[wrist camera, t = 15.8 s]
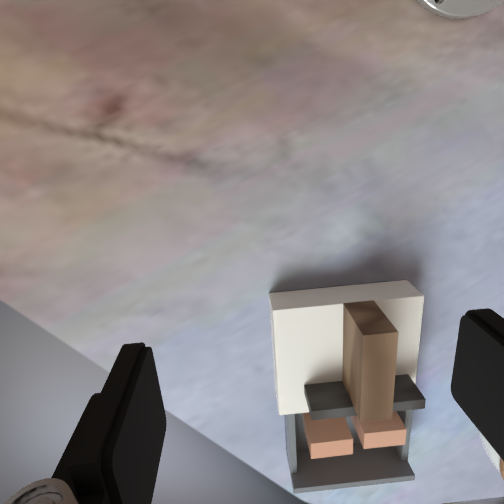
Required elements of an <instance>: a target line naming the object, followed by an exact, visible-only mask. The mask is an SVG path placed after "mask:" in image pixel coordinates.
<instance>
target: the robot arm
mask: <svg viewBox="0 0 504 504" xmlns="http://www.w3.org/2000/svg"><path fill="white" fill-rule="evenodd" d="M417 1H418V2H419V3H420V4H421V5H422V6H424V7H425V8H426V9H427V10H429V11H431V12H432V13H434V14H436V15H438V16H442V17H446V18H449V19H465V18H471V17H476V16H478V15H481V14H484V13H486V12H489V11H491V10H493V9H495V8H496V7H498V6H500V5H502V4H503V3H504V0H436V3H435V0H417ZM451 392H452V395H453V398H454V399H455V401H456V402H457V403H458V405H459V406H460V407H461V408H462V410H463V411H464V412H465V413H466V415H467V416H468V417H469V418H470V420H471V421H472V422H473V423H474V425H475V426H476V427H477V428H478V430H479V431H480V432H481V433H482V435H483V436H484V437H485V438H486V440H487V441H488V442H489V444H490V445H491V446H492V447H493V449H494V450H495V451H496V452H497V454H498V455H499V456H500V457H501V459H502V460H503V461H504V318H502V317H501V316H500V315H498V314H497V313H496V312H494V311H493V310H491V309H477V310H469V311H467V312H466V314H465V316H462V318H461V320H460V326H459V333H458V340H457V347H456V354H455V361H454V368H453V375H452V382H451ZM165 431H166V415H165V410H164V405H163V400H162V396H161V391H160V386H159V381H158V376H157V371H156V366H155V361H154V357H153V352H152V348H151V347H145V344H144V343H143V342H142V343H132V344H124V345H123V346H122V348H121V350H120V352H119V354H118V356H117V359H116V361H115V363H114V365H113V367H112V369H111V372H110V374H109V376H108V379H107V380H106V383H105V385H104V387H103V389H102V391H101V393H95V394H94V395H93V396H92V397H91V399H90V400H89V402H88V404H87V406H86V408H85V410H84V412H83V414H82V416H81V418H80V421H79V422H78V425H77V427H76V429H75V431H74V433H73V435H72V437H71V439H70V441H69V443H68V445H67V447H66V449H65V451H64V453H63V455H62V458H61V459H60V461H59V463H58V465H57V467H56V470H55V472H54V474H53V476H52V478H48V479H47V478H46V479H43V480H39V481H36V482H33V483H31V484H30V485H27V486H26V487H24V488H22V489H21V490H19V491H18V492H17V493H15V494H14V495H13V496H11V497H10V498H9V499H8V500H7V501H6V503H4V504H151V502H152V497H153V492H154V487H155V482H156V477H157V472H158V466H159V462H160V457H161V452H162V447H163V442H164V437H165ZM444 504H504V497H499V498H490V499H480V500H471V501H462V502H453V503H444Z"/></svg>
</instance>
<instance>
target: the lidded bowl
mask: <svg viewBox="0 0 504 504" xmlns="http://www.w3.org/2000/svg"><path fill="white" fill-rule="evenodd" d="M478 433H479V437H480V440H481V442H482V445H483V447H484V449H485V451H486V453H487V454H488V456H489V458H490V459H491V461H492V462H493V464H494V465H495V467H496V468H497V470H498V471H499V472H500V474H501V475H502V478H503V479H504V461H503V460H502V459H501V457H500V456H499V455H498V454H497V452H496V451H495V450H494V449H493V447H492V446H491V445H490V444H489V442H488V441H487V440H486V438H485V437H484V436H483V435H482V433H481V432H480V431H479V430H478Z"/></svg>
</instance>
